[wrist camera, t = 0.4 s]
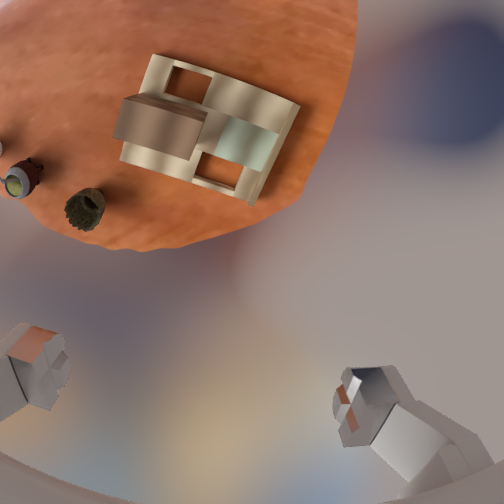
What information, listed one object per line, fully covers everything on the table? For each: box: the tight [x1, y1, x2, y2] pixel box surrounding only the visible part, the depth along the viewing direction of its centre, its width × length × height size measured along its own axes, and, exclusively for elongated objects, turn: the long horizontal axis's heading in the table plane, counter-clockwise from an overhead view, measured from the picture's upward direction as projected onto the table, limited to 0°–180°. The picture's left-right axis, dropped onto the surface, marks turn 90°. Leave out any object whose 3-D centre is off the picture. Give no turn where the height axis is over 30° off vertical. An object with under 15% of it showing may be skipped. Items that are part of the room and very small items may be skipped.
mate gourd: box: [0, 158, 44, 199], centre depth 45 cm, size 8×8×15 cm
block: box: [112, 93, 208, 161], centre depth 43 cm, size 12×6×10 cm, turn 67°
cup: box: [64, 188, 105, 232], centre depth 53 cm, size 8×7×8 cm
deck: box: [120, 54, 301, 207], centre depth 50 cm, size 26×20×4 cm
